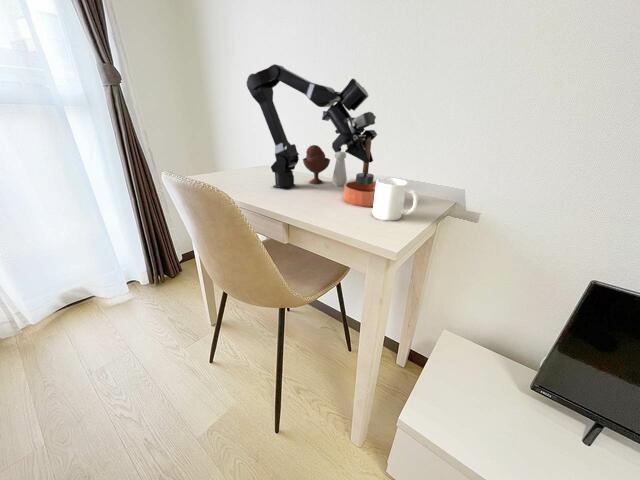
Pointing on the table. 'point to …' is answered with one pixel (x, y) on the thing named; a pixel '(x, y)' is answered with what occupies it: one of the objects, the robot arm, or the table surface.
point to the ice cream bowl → (315, 162)
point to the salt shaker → (339, 169)
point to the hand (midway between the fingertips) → (370, 162)
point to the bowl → (359, 193)
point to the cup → (392, 199)
